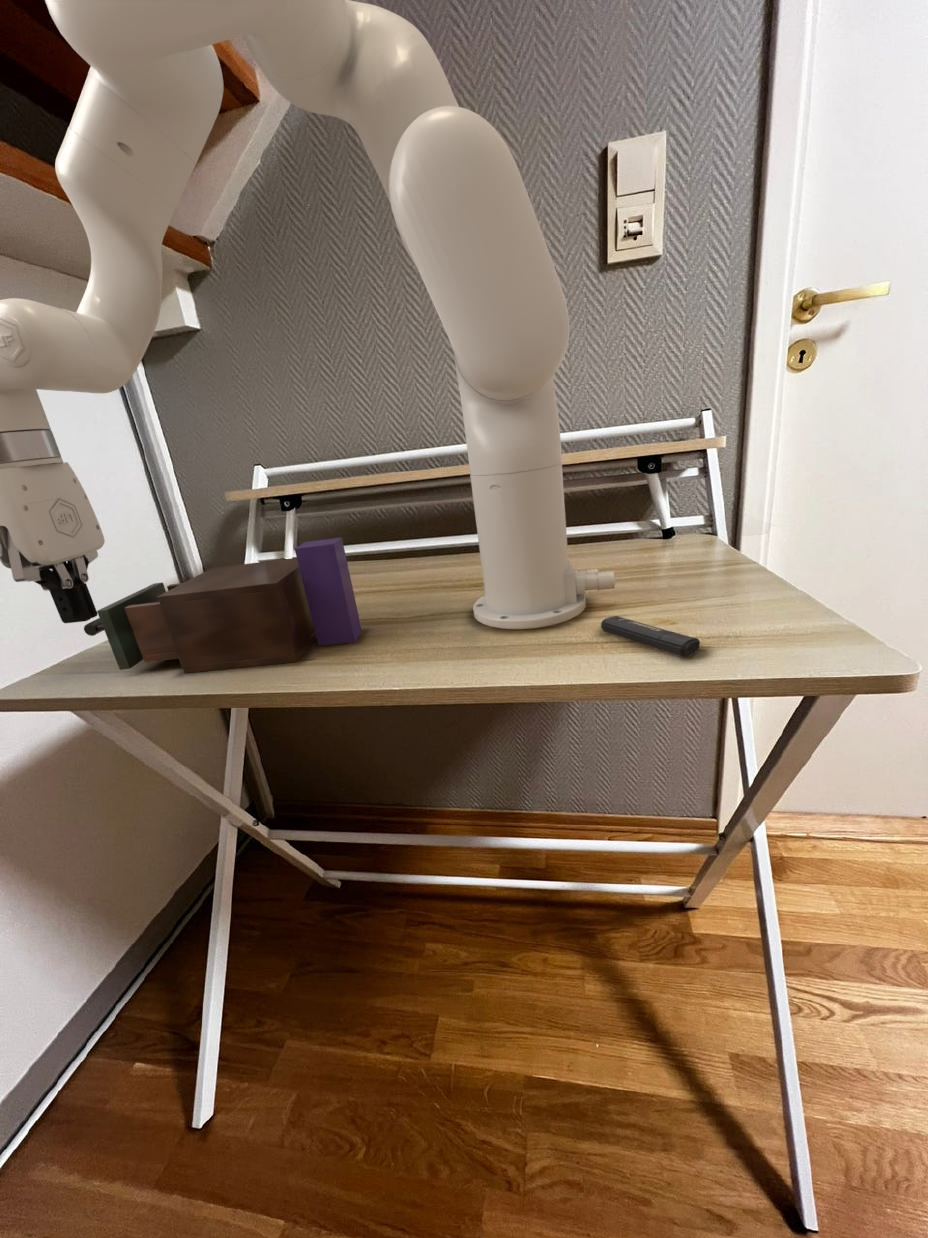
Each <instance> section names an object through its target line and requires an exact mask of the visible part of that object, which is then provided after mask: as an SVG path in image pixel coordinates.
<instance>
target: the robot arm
mask: <svg viewBox="0 0 928 1238" xmlns="http://www.w3.org/2000/svg"><path fill="white" fill-rule="evenodd" d="M44 2H45V5H46V7H47V10H48V13H49V15H50V17H51V19H52V22H54V25H55V26H56V28H57V30H58V31H59V33H60V35H61V36H62V37H63V38H64V40H65V41H66V42H67V43H68V45H70V47H71V48H72V50H73V51H74V52H76V53H77V54H78V56H80V57H81V58H82V59H83V61H85V62H86V63H87V64H88V65H89V66H90V67H89V70H88V72H87V76H86V79H85V82H84V84H83V87H82V89H81V93H80V95H79V98H78V101H77V103H76V107H75V109H74V112H73V114H72V117H71V120H70V123H69V126H68V127H67V130H66V132H65V135H64V138H63V140H62V143H61V144H60V147H59V150H58V152H57V155H56V158H55V164H54V167H55V168H54V169H55V170H54V171H55V174H56V177H57V180H58V183H59V184H60V187H61V188H62V190H63V191H64V193H65V195H66V197H67V198H68V200H69V202H70V203H71V205H72V207H73V209H74V211H75V213H76V214H77V216H78V218H79V221H80V222H81V224H82V227H83V228H84V231H85V234H86V237H87V240H88V245H89V250H90V272H89V278H88V281H87V284H86V288H85V292H84V293H83V296H82V298H81V300H80V302H79V305H78V308H77V309H76V311H72V310H69V309H65V308H61V307H57V306H53V305H49V304H46V303H43V302H40V301H35V300H31V299H26V298H19V297H18V298H17V297H16V298H15V297H12V298H11V297H10V298H4V299H0V563H1V564H2V566H3V567H5V568H7V569H10V570H11V576H12V579H13V581H14V582H16V583H32V582H34V583H35V584H37V585H39V586H40V587H41V588H42V590H43V591H44V592H49V593H50V596H51V599H52V600H53V603H54V606H55V608H56V611H57V613H58V615H59V619H60V620H61V622H62V623H64V624H73V623H83V622H88V621H90V620H91V619H93V618H96V617H98V613H97V611H98V610H97V609H96V606H95V604H94V601H93V598H92V595H91V593H90V590H89V587H88V585H87V582H89V579H90V577H89V573H88V567H89V565H90V564H91V563H92V562H93V561H96V559H97V558H98V557H99V553H98V550H100V549H101V548H103V546H104V545H105V540H106V539H105V537H104V533H103V530H102V528H101V526H100V522H99V520H98V518H97V516H96V513H95V511H94V508H93V506H92V504H91V501H90V500H89V498H88V495H87V493H86V491H85V489H84V487H83V486H82V483H81V481H80V480H79V478H78V476H77V475H76V473H75V471H74V470H73V468H72V466H71V465H70V463H69V462H64V460H63V458H62V455H61V452H60V449H59V447H58V444H57V442H56V438H55V435H54V433H53V431H52V428H51V425H50V422H49V420H48V417H47V415H46V411H45V409H44V406H43V404H42V401H41V398H40V395H39V393H38V390H40V391H41V390H43V391H53V392H54V391H55V392H74V393H88V394H108V393H112V392H116V391H117V390H119V389H121V388H122V387H124V385H126V384H127V383H128V381H130V379H132V377H133V376H134V374H135V372H136V371H137V370H138V367H139V366H140V364H141V362H142V360H143V358H144V356H145V354H146V352H147V349H148V347H149V345H150V343H151V340H152V338H153V336H154V334H155V332H156V328H157V325H158V323H159V320H160V319H159V318H160V313H161V308H162V307H161V305H162V296H163V295H162V293H163V292H162V291H163V276H164V275H163V273H164V271H163V269H164V268H163V255H162V247H163V240H164V237H165V236H166V233H167V230H168V228H169V225H170V223H171V221H172V219H173V217H174V214H175V212H176V210H177V207H178V205H179V203H180V201H181V199H182V196H183V194H184V192H185V190H186V187H187V185H188V183H189V181H190V179H191V176H192V174H193V172H194V169H195V167H196V165H197V163H198V161H199V158H200V156H201V155H202V152H203V150H204V148H205V145H206V143H207V140H208V139H209V137H210V134H211V132H212V129H213V127H214V125H215V123H216V120H217V118H218V116H219V112H220V110H221V107H222V102H223V96H224V77H223V72H222V67H221V64H220V60H219V57H218V54H217V52H216V50H215V48H214V46H213V45H216V44H219V43H222V42H226V41H229V40H234V39H236V38H240V37H241V39H242V40H243V42H244V44H245V46H246V48H247V50H248V51H249V52H250V54H251V55H252V57H253V59H254V60H255V62H256V64H257V66H258V67H259V69H260V70H261V72H262V74H263V75H264V77H265V78H266V80H267V81H268V83H269V84H270V85H271V86H272V88H273V89H274V90H275V91H276V92H277V93H278V94H279V95H280V96H281V97H282V98H283V99H285V100H286V101H288V102H289V103H290V104H292V105H293V106H295V107H297V108H299V109H300V110H303V111H306V112H309V113H312V114H317V115H322V116H328V117H333V118H336V119H339V120H342V121H344V122H346V123H347V124H348V125H350V127H352V128H353V129H354V131H355V133H356V134H357V135H358V138H359V139H360V141H361V143H362V145H363V148H364V150H365V152H366V154H367V157H368V159H369V160H370V163H371V165H372V166H373V168H374V170H375V172H376V174H377V176H378V178H379V182H380V183H381V185H382V188H383V190H384V193H385V195H386V197H387V199H388V201H389V204H390V207H391V212H392V215H393V219H394V222H395V225H396V228H397V230H398V233H399V236H400V239H401V241H402V244H403V247H404V248H405V251H406V252H407V254H408V256H409V258H410V260H411V261H412V262H413V264H414V265H415V267H416V268H417V270H418V273H419V275H420V278H421V279H422V282H423V284H424V287H425V289H426V290H427V293H428V295H429V297H430V300H431V303H432V304H433V306H434V308H435V311H436V313H437V315H438V317H439V320H440V323H441V325H442V326H443V329H444V331H445V334H446V336H447V338H448V340H449V343H450V345H451V348H452V350H453V356H454V357H453V358H454V364H455V373H456V379H457V385H458V391H459V397H460V405H461V413H462V419H463V428H464V435H465V443H466V451H467V459H468V468H469V477H470V485H471V493H472V501H473V509H474V516H475V517H474V519H475V525H476V533H477V540H478V549H479V557H480V564H481V565H480V566H481V573H482V580H483V590H484V595H483V596H481V597H479V598H478V599H477V600H476V601H475V602H474V604H473V606H472V610H473V617H474V619H475V620H476V621H477V622H479V623H481V624H482V625H485V626H488V627H491V628H497V629H504V630H528V629H529V630H530V629H531V630H532V629H539V628H544V627H551V626H555V625H558V624H561V623H565V622H566V621H570V620H572V619H574V618H576V617H577V616H579V615H580V614H581V613H582V612H584V610H585V609H586V606H587V603H586V602H587V600H586V591H592V590H597V591H603V590H611V589H615V588H616V577H615V573H614V570H606V571H599V569H598V568H591V569H590V568H589V569H585V570H577V569H576V568H574V567H573V565H572V563H571V562H570V560H569V550H568V547H569V546H568V535H567V519H566V506H565V505H566V504H565V492H564V491H565V490H564V476H563V452H562V439H561V428H560V418H559V417H560V416H559V411H558V403H557V395H556V388H555V380H554V376H555V374H556V373H557V371H558V370H559V368H561V367H560V366H562V363H563V361H564V360H565V359H564V358H565V356H566V353H567V350H568V346H569V341H570V332H571V328H570V327H571V325H570V323H571V322H570V314H569V309H568V304H567V301H566V297H565V294H564V291H563V288H562V284H561V282H560V279H559V276H558V272H557V270H556V267H555V264H554V262H553V258H552V255H551V254H550V250H549V248H548V245H547V241H546V240H545V237H544V233H543V231H542V228H541V225H540V223H539V220H538V218H537V214H536V212H535V209H534V206H533V204H532V202H531V199H530V196H529V193H528V190H527V187H526V186H525V182H524V180H523V178H522V175H521V171H520V170H519V167H518V164H517V162H516V161H515V158H514V156H513V154H512V152H511V150H510V148H509V147H508V145H507V143H506V142H505V140H504V139H503V137H502V136H501V135H500V133H499V132H498V131H497V130H496V128H495V127H494V126H493V125H492V124H491V123H490V122H488V120H487V119H486V118H484V117H483V116H481V115H479V114H478V113H476V112H474V111H472V110H470V109H468V108H465V107H461V106H459V104H458V103H459V102H457V99H456V97H455V95H454V92H453V89H452V88H451V84H450V83H449V80H448V77H447V76H446V73H445V71H444V69H443V66H442V64H441V63H440V60H439V59H438V57H437V54H436V53H435V51H434V49H433V48H432V47H431V45H430V43H429V41H428V40H427V39H426V37H425V36H424V35H423V34H422V32H421V31H420V30H419V29H418V28H417V27H416V26H415V24H412V22H410V21H408V20H407V19H406V18H404V17H403V16H401V15H399V14H396V13H395V12H393V11H390V10H388V9H386V8H384V7H381V6H378V5H375V4H371V3H366V2H360V1H356V0H355V1H354V0H44Z"/></svg>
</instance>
